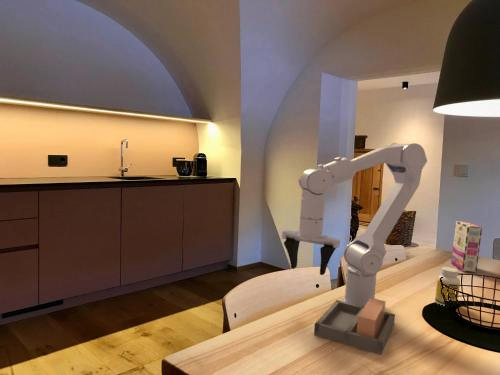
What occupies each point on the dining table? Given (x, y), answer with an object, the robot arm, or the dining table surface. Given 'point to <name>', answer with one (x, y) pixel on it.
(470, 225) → the candy bar box
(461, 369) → the dining table surface
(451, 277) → the supplement bottle
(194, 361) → the dining table surface
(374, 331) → the tan rectangular block
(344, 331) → the grey divided tray
